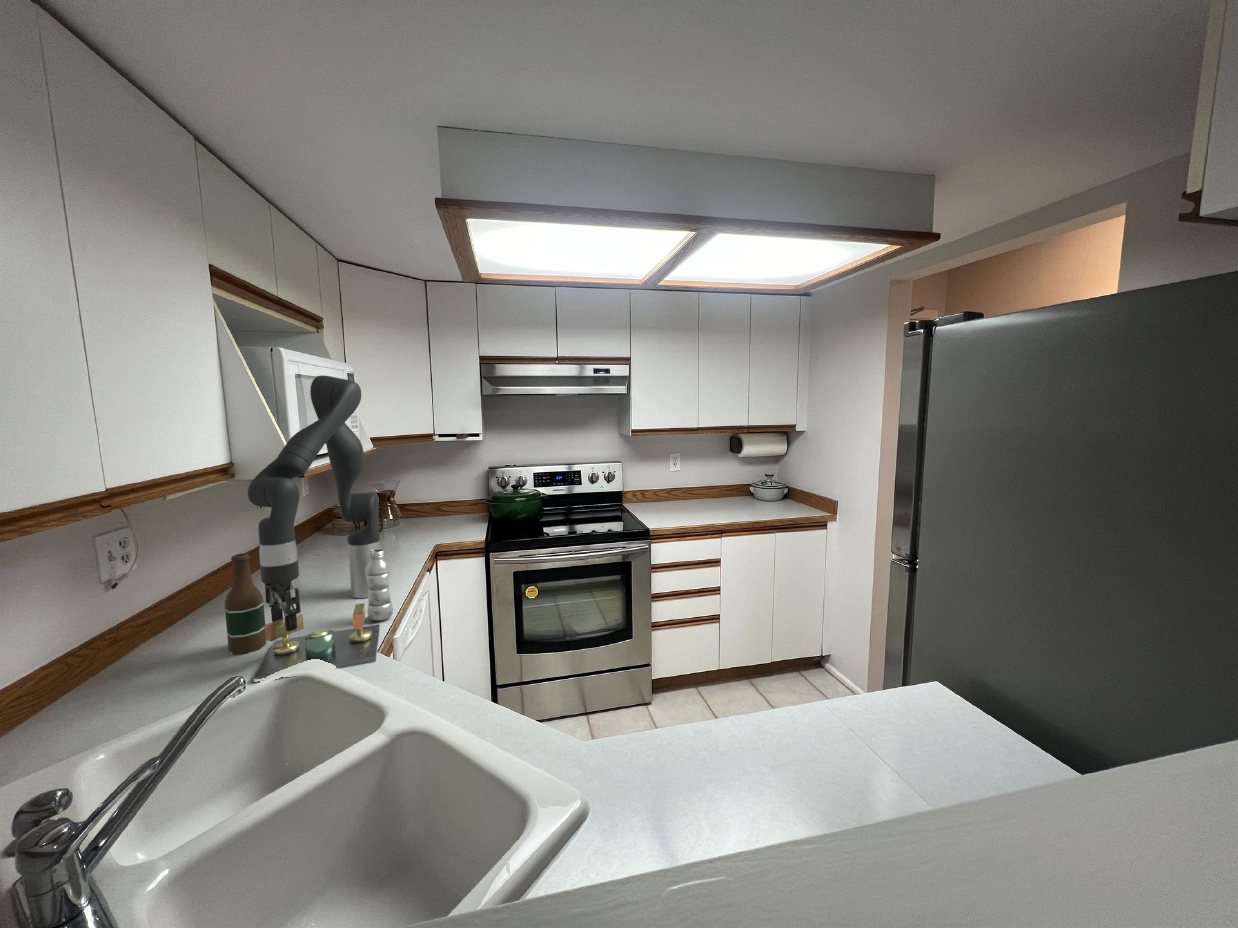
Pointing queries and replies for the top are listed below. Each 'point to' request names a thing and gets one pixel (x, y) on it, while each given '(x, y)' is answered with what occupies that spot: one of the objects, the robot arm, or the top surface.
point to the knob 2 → (359, 625)
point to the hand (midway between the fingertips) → (284, 625)
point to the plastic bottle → (378, 586)
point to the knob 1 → (283, 635)
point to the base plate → (338, 659)
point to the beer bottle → (244, 610)
